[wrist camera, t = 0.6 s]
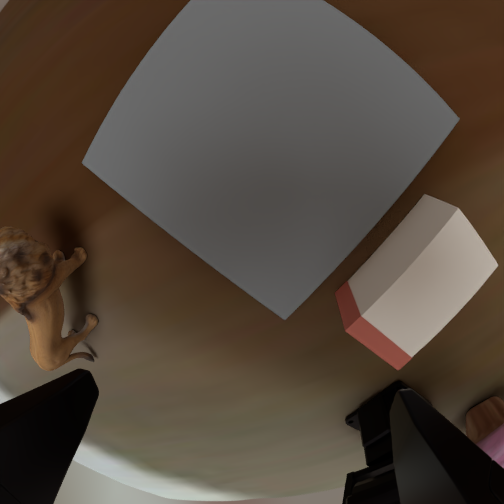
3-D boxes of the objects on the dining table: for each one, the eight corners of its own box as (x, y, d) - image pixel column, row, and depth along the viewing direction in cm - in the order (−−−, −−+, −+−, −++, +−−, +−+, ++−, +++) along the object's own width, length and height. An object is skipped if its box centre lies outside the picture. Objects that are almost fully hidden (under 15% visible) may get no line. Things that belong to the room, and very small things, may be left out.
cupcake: (445, 410, 23) (474, 484, 13) (511, 368, 20) (552, 430, 11) (452, 442, 25) (473, 503, 15) (509, 407, 22) (537, 462, 13)
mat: (455, 119, 15) (459, 119, 14) (285, 315, 21) (284, 320, 20) (236, -39, 13) (235, -43, 12) (86, 162, 19) (81, 162, 18)
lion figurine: (37, 209, 21) (-43, 242, 12) (80, 203, 20) (-9, 240, 11) (77, 353, 25) (29, 410, 17) (119, 362, 25) (72, 430, 16)
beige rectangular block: (464, 242, 17) (499, 266, 13) (381, 330, 20) (398, 370, 16) (423, 193, 17) (458, 207, 13) (334, 292, 20) (344, 330, 15)
